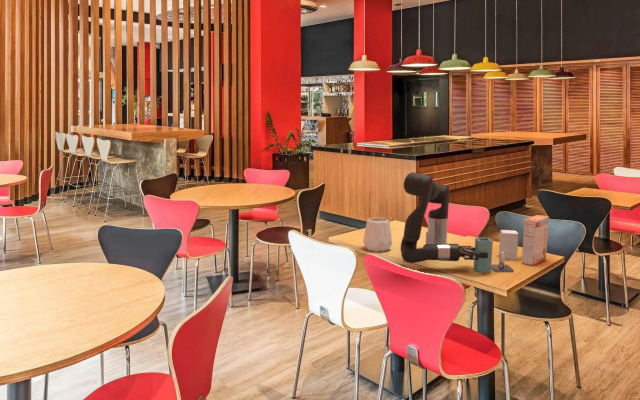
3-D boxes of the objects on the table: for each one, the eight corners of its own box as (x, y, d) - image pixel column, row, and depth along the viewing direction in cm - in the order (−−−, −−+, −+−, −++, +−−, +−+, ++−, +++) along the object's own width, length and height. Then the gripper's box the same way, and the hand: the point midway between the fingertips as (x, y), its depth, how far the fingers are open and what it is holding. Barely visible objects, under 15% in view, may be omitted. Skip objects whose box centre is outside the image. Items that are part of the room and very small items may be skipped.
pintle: (494, 272, 230) (496, 254, 228) (489, 266, 237) (490, 249, 236) (513, 272, 229) (514, 254, 228) (507, 266, 237) (508, 249, 236)
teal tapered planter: (477, 272, 229) (479, 240, 226) (473, 268, 234) (475, 237, 232) (490, 272, 229) (492, 241, 226) (486, 268, 234) (488, 237, 232)
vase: (368, 253, 257) (368, 223, 255) (360, 246, 271) (360, 217, 268) (395, 252, 260) (396, 221, 257) (386, 244, 274) (387, 216, 271)
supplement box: (517, 260, 248) (519, 233, 246) (500, 259, 249) (502, 232, 247) (514, 255, 255) (516, 230, 253) (498, 254, 257) (500, 229, 254)
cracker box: (533, 257, 253) (536, 214, 249) (546, 260, 248) (549, 216, 245) (520, 263, 243) (523, 218, 239) (533, 266, 239) (536, 220, 235)
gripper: (451, 248, 223) (490, 248, 222) (444, 239, 237) (481, 240, 236) (450, 265, 224) (489, 266, 224) (443, 256, 238) (480, 256, 238)
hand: (484, 252), depth 230 cm, fingers open, 8 cm apart
